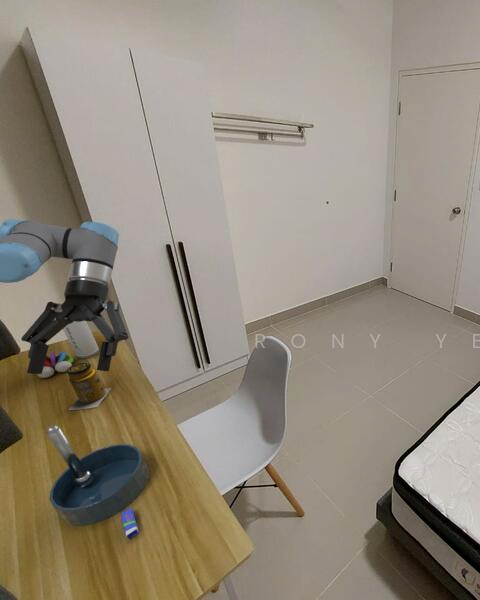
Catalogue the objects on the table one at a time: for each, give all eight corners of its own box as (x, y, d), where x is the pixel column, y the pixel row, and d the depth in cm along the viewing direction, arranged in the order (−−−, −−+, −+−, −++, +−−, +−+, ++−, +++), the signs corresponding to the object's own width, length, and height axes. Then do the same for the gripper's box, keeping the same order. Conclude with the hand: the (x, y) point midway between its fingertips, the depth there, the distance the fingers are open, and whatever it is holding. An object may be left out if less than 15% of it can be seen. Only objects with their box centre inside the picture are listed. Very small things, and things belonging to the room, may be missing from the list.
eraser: (128, 540, 69) (125, 535, 68) (123, 518, 72) (120, 513, 71) (139, 533, 70) (136, 528, 69) (134, 512, 74) (131, 507, 73)
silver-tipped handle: (100, 477, 79) (67, 421, 70) (86, 492, 76) (49, 435, 67) (87, 475, 79) (52, 419, 70) (72, 489, 76) (33, 432, 67)
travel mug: (94, 346, 124) (73, 300, 115) (102, 352, 121) (81, 305, 112) (73, 354, 119) (49, 307, 110) (81, 361, 116) (57, 313, 107)
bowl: (41, 530, 70) (27, 514, 67) (93, 461, 84) (84, 446, 81) (123, 522, 72) (114, 506, 69) (161, 457, 86) (154, 441, 83)
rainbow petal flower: (36, 369, 111) (26, 352, 108) (74, 358, 118) (66, 341, 114) (37, 382, 106) (26, 365, 103) (76, 370, 112) (68, 353, 109)
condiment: (111, 388, 106) (98, 358, 100) (97, 407, 99) (82, 377, 93) (85, 391, 104) (69, 361, 99) (68, 411, 97) (50, 380, 91)
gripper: (154, 288, 85) (140, 370, 79) (44, 289, 81) (21, 376, 75) (135, 277, 78) (119, 367, 72) (14, 278, 74) (-14, 373, 68)
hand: (69, 372), depth 73 cm, fingers open, 13 cm apart
